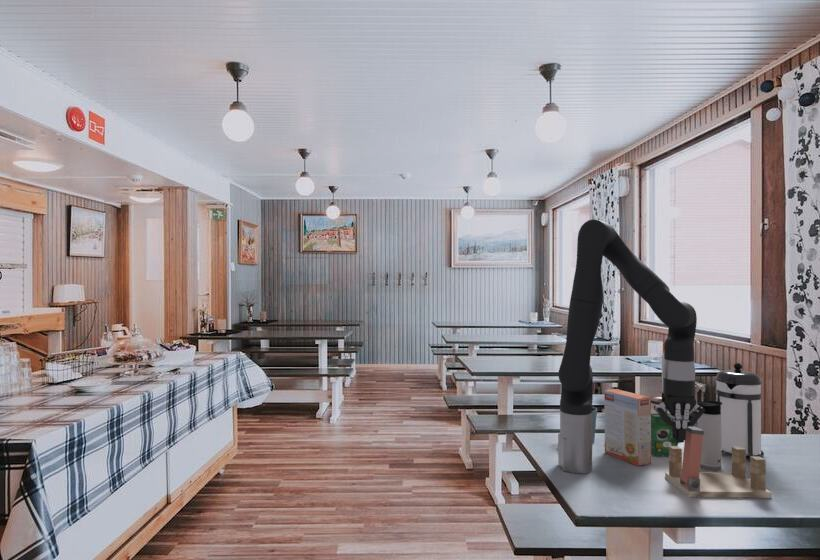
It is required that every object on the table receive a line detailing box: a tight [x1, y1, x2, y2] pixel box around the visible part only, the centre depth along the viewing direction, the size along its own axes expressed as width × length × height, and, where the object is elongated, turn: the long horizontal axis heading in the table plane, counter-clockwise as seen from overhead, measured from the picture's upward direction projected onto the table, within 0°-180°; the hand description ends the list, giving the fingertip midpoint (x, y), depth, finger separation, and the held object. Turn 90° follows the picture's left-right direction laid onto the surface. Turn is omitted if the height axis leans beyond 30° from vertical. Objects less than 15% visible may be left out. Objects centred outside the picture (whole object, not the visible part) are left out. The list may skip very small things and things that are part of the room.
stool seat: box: [664, 446, 772, 499], centre depth 134 cm, size 21×14×10 cm, turn 88°
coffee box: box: [651, 413, 679, 457], centre depth 159 cm, size 8×3×13 cm, turn 91°
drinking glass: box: [592, 405, 598, 444], centre depth 174 cm, size 10×10×12 cm
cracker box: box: [604, 388, 652, 467], centre depth 157 cm, size 14×6×21 cm, turn 22°
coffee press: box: [714, 362, 765, 463], centre depth 160 cm, size 17×16×30 cm
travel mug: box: [696, 400, 723, 472], centre depth 149 cm, size 6×7×20 cm
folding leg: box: [681, 426, 704, 484], centre depth 131 cm, size 3×3×14 cm
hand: (679, 441), depth 131 cm, fingers closed
